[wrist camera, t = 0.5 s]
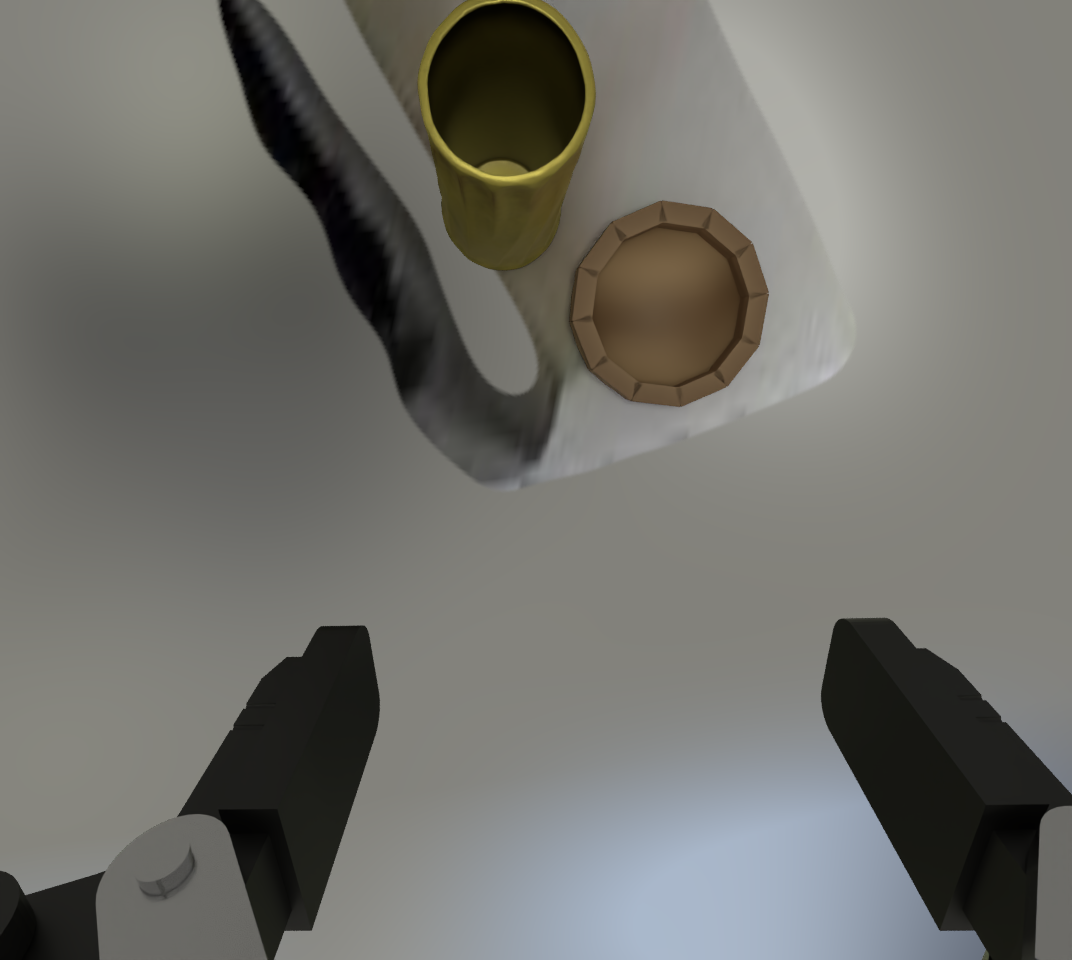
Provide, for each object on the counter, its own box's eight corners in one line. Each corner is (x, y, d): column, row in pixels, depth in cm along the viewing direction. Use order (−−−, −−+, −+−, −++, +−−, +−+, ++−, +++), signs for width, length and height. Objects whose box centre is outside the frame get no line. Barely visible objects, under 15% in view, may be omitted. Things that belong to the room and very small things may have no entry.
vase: (422, 236, 32) (367, 139, 18) (472, 122, 31) (455, -75, 17) (528, 291, 33) (554, 238, 19) (579, 181, 32) (647, 40, 18)
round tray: (541, 257, 32) (544, 251, 31) (716, 181, 32) (729, 170, 30) (611, 430, 34) (617, 434, 33) (775, 359, 34) (790, 359, 32)
